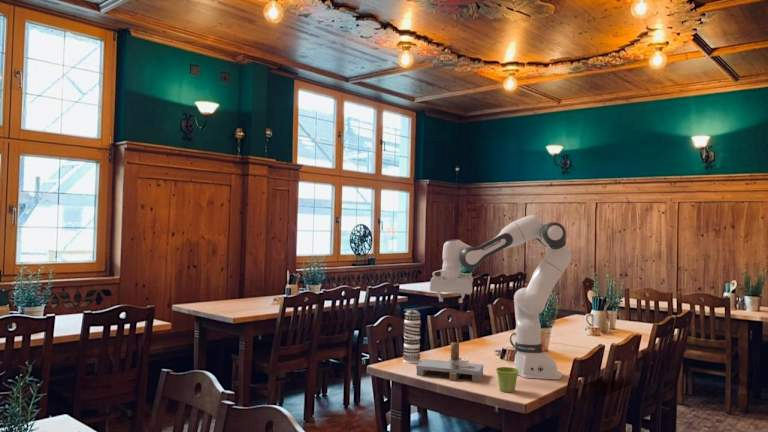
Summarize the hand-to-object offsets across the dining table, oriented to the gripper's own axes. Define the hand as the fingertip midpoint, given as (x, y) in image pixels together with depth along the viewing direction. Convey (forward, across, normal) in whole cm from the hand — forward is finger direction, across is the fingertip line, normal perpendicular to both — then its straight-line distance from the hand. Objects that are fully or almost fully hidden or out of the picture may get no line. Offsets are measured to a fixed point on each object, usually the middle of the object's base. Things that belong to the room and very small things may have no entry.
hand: (450, 302), depth 273 cm
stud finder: (+26, -7, +13) cm, 31 cm away
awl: (+27, -6, +18) cm, 33 cm away
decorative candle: (+31, +20, -5) cm, 37 cm away
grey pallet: (+31, -3, +13) cm, 34 cm away
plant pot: (+31, -30, +29) cm, 52 cm away
